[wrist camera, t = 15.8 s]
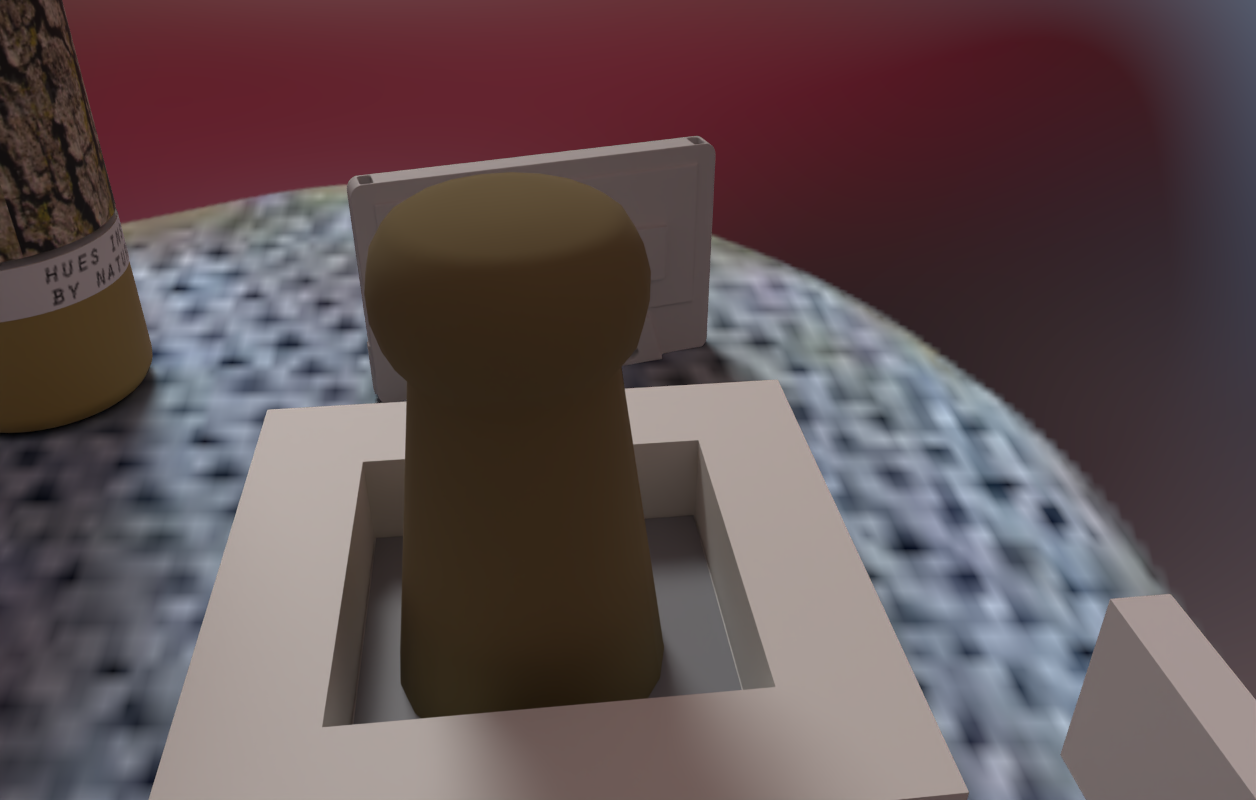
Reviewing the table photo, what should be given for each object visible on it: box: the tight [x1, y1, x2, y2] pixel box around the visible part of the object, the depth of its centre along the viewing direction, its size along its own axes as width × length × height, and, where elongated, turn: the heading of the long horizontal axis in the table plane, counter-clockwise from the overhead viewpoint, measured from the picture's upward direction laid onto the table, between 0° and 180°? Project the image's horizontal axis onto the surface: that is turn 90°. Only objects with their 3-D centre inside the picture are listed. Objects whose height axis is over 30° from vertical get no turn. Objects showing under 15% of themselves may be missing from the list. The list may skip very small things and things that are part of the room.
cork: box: [364, 172, 664, 719], centre depth 22 cm, size 6×6×11 cm
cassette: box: [347, 136, 715, 403], centre depth 36 cm, size 12×2×8 cm, turn 110°
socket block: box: [149, 380, 969, 800], centre depth 25 cm, size 14×14×4 cm
